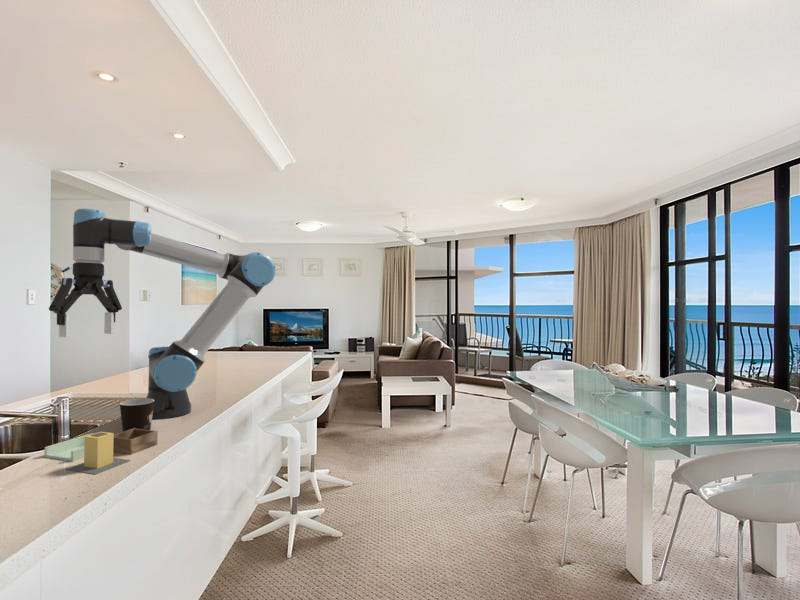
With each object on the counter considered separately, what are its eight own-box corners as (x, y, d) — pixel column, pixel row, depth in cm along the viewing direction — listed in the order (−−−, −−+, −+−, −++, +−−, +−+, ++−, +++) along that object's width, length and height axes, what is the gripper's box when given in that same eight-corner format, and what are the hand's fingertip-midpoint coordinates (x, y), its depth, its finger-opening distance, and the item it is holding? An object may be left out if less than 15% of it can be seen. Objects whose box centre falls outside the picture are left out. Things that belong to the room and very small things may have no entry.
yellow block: (100, 460, 106) (100, 431, 106) (113, 462, 105) (113, 432, 105) (84, 466, 102) (84, 435, 102) (97, 468, 101) (97, 437, 101)
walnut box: (133, 442, 120) (134, 428, 120) (157, 445, 118) (157, 431, 118) (107, 452, 113) (107, 436, 113) (131, 455, 111) (131, 440, 111)
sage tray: (92, 443, 120) (92, 432, 120) (119, 446, 117) (119, 436, 117) (44, 458, 108) (44, 447, 108) (73, 463, 105) (73, 451, 105)
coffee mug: (137, 442, 121) (138, 406, 121) (111, 440, 123) (112, 404, 123) (168, 430, 132) (168, 397, 132) (143, 428, 134) (144, 395, 134)
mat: (101, 458, 109) (101, 456, 109) (130, 462, 106) (130, 460, 106) (65, 471, 100) (65, 469, 100) (95, 476, 98) (95, 474, 98)
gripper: (117, 266, 141) (116, 332, 141) (33, 258, 117) (31, 338, 117) (135, 266, 139) (134, 332, 139) (53, 258, 115) (52, 339, 115)
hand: (87, 335), depth 128 cm, fingers open, 13 cm apart
